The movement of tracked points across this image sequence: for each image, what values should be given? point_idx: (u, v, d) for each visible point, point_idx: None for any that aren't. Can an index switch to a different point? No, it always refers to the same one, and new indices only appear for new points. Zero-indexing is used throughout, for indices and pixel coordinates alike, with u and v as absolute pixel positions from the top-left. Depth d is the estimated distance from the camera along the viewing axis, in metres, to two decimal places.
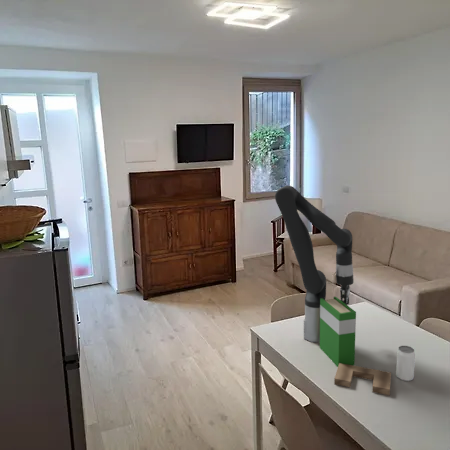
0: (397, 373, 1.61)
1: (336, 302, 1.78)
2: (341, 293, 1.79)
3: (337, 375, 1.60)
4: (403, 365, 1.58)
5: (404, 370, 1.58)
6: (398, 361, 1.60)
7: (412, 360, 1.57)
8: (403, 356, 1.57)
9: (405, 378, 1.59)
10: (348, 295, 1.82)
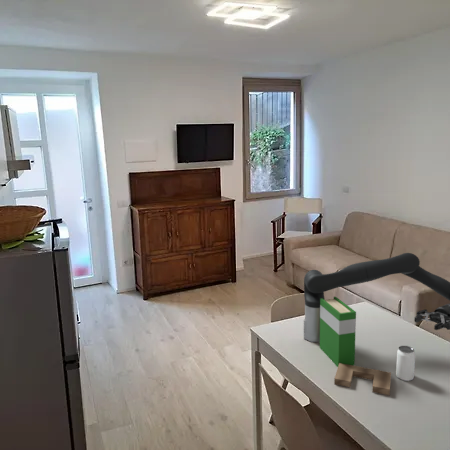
0: (397, 373, 1.61)
1: (336, 302, 1.78)
2: None
3: (337, 375, 1.60)
4: (403, 365, 1.58)
5: (404, 370, 1.58)
6: (398, 361, 1.60)
7: (412, 360, 1.57)
8: (403, 356, 1.57)
9: (405, 378, 1.59)
10: None
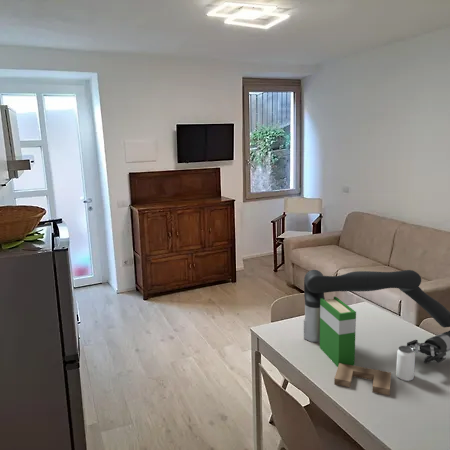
0: (397, 373, 1.61)
1: (336, 302, 1.78)
2: (444, 355, 1.62)
3: (337, 375, 1.60)
4: (403, 365, 1.58)
5: (404, 370, 1.58)
6: (398, 361, 1.60)
7: (412, 360, 1.57)
8: (403, 356, 1.57)
9: (405, 378, 1.59)
10: None
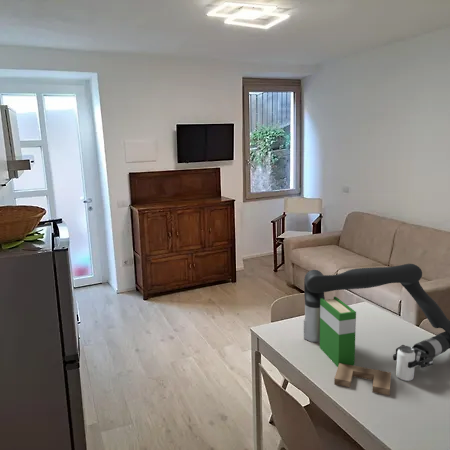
0: (397, 373, 1.61)
1: (336, 302, 1.78)
2: (431, 360, 1.58)
3: (337, 375, 1.60)
4: (403, 365, 1.58)
5: (405, 370, 1.58)
6: (398, 361, 1.60)
7: (412, 360, 1.57)
8: (404, 356, 1.57)
9: (405, 378, 1.59)
10: None
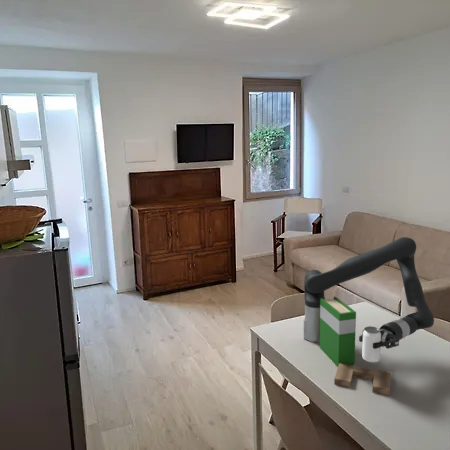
0: (363, 355, 1.56)
1: (336, 302, 1.78)
2: (397, 341, 1.53)
3: (337, 375, 1.60)
4: (368, 346, 1.53)
5: (370, 351, 1.53)
6: (364, 342, 1.54)
7: (378, 341, 1.52)
8: (369, 337, 1.52)
9: (371, 360, 1.53)
10: None
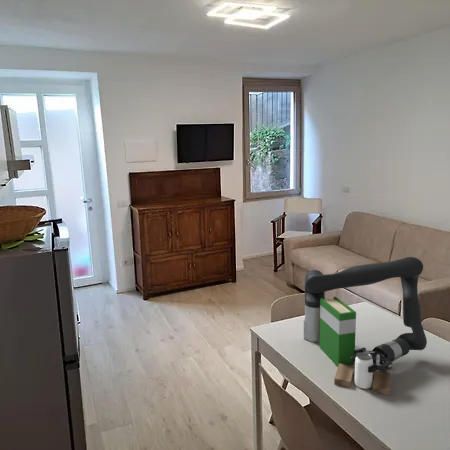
0: (355, 381, 1.57)
1: (336, 302, 1.78)
2: (390, 364, 1.54)
3: (337, 375, 1.60)
4: (360, 373, 1.54)
5: (362, 377, 1.54)
6: (356, 368, 1.56)
7: None
8: (361, 363, 1.53)
9: (363, 386, 1.55)
10: None
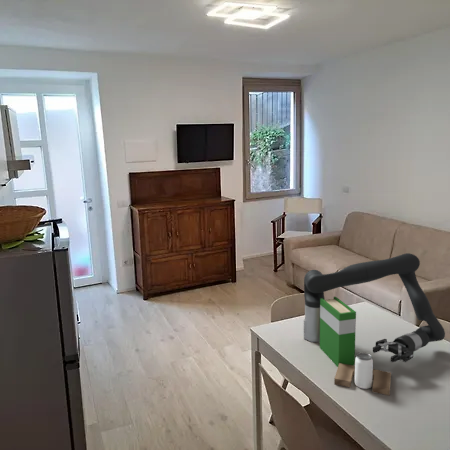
0: (355, 381, 1.57)
1: (336, 302, 1.78)
2: (412, 354, 1.60)
3: (337, 375, 1.60)
4: (360, 373, 1.54)
5: (362, 377, 1.54)
6: (356, 368, 1.56)
7: (369, 368, 1.53)
8: (361, 363, 1.53)
9: (363, 386, 1.55)
10: None
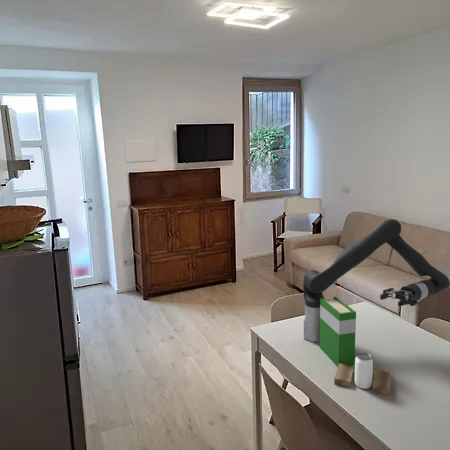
0: (355, 381, 1.57)
1: (336, 302, 1.78)
2: (418, 299, 1.65)
3: (337, 375, 1.60)
4: (360, 373, 1.54)
5: (362, 377, 1.54)
6: (356, 368, 1.56)
7: (369, 368, 1.53)
8: (361, 363, 1.53)
9: (363, 386, 1.55)
10: None
